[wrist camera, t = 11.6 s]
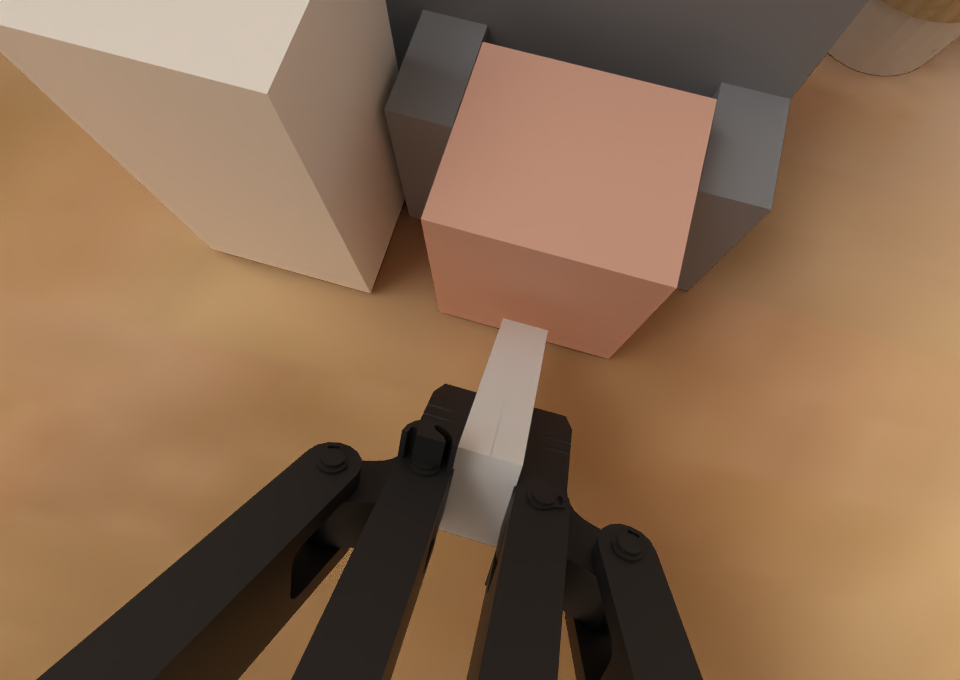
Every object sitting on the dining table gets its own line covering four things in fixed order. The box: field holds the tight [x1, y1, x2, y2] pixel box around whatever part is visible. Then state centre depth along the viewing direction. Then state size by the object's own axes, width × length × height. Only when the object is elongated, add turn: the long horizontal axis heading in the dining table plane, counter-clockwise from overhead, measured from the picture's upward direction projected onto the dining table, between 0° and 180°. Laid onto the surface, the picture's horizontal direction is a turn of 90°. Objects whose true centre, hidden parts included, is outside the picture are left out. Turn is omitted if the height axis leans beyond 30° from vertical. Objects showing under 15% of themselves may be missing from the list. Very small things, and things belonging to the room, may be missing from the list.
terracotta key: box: [421, 42, 717, 359], centre depth 20 cm, size 7×6×8 cm
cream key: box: [0, 0, 405, 293], centre depth 19 cm, size 7×6×12 cm
